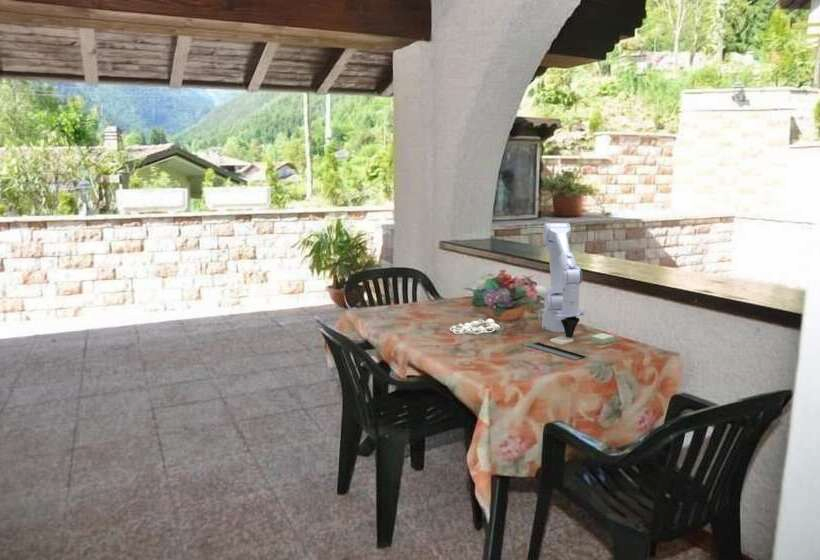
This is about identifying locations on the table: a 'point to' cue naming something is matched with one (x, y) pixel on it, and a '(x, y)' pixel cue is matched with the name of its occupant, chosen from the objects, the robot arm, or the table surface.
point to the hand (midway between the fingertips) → (569, 336)
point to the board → (589, 339)
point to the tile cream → (561, 340)
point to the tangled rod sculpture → (473, 326)
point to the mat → (556, 351)
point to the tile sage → (602, 338)
